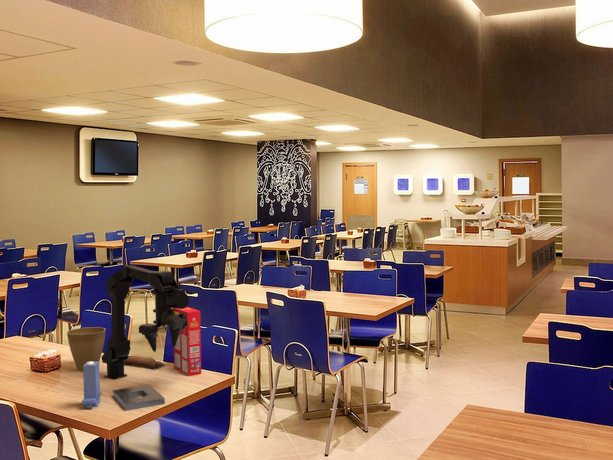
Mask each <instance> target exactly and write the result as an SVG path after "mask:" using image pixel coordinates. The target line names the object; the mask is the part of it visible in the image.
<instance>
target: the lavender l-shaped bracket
mask: <svg viewBox="0 0 613 460" xmlns="http://www.w3.org/2000/svg"><path fill="white" fill-rule="evenodd" d="M82 372H83V373H82V374H83V375H82V376H83V380H82V381H83V399H81V404H82V405H84V407H83V408H86V409H93V408H97V407H98V406H99V405H100V403H101V396H102V394H103V391H101V384H100V383H101V380H100V379H101V378H100V377H101V375H100V361H99V362H93V361H90V362H87V363H86V364H85V365H83V371H82Z"/></svg>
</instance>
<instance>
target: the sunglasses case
mask: <svg viewBox="0 0 613 460" xmlns="http://www.w3.org/2000/svg"><path fill="white" fill-rule="evenodd" d="M123 361H124V365H126V366H127V365H129V366H130V365H132V366H133V365H134V366H138V367H145V368H149V369H151V368H152V369H154V370H160V369H161V368H163V367H164V368H165V367H166V366H167V363H164V362H161V361H158V360H156V359H154V358H153V357H148V356H146V357H145V356H142V355H141V356H140V355H128V359H127V360H123Z"/></svg>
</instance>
